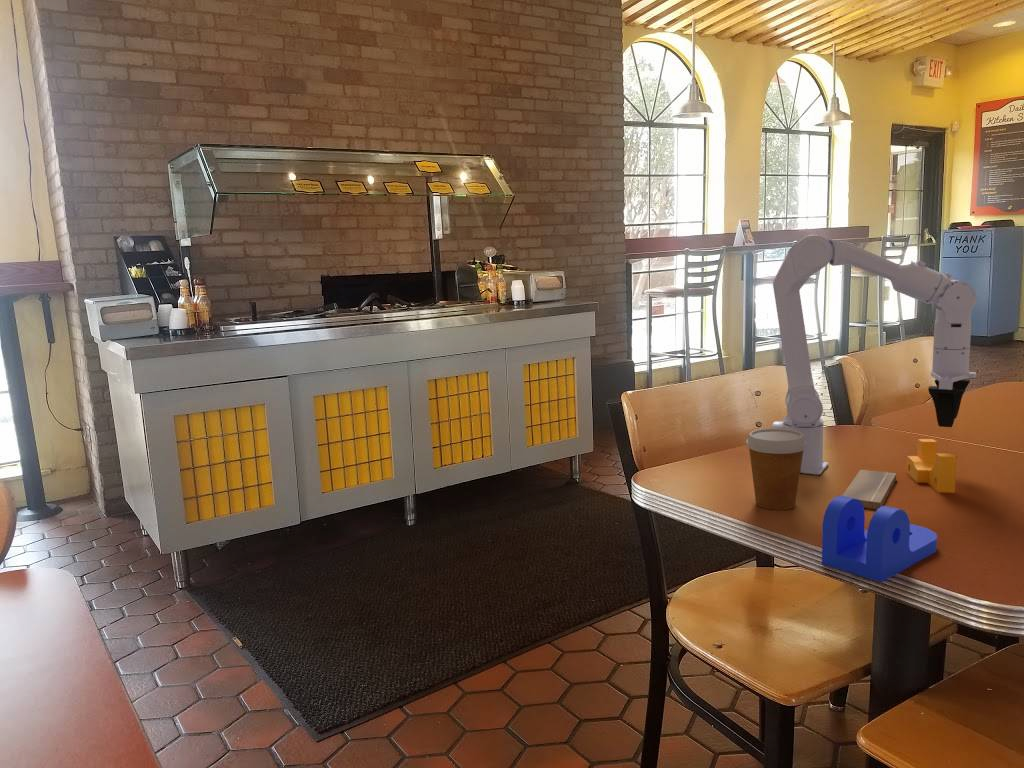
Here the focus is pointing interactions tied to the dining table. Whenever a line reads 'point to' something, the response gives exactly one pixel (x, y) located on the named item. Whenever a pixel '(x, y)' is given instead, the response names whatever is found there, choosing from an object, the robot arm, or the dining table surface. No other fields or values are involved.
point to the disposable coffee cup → (776, 466)
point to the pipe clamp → (933, 466)
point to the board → (871, 488)
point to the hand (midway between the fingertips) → (947, 422)
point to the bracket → (872, 540)
